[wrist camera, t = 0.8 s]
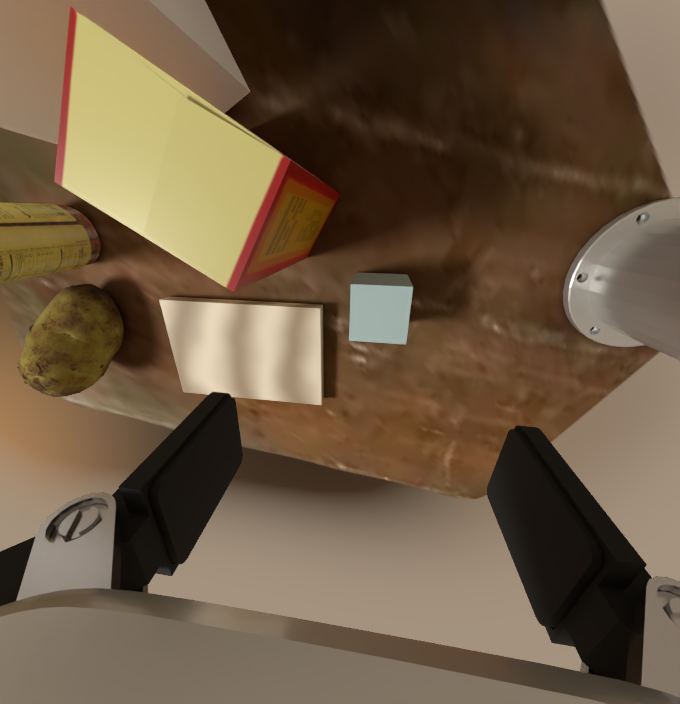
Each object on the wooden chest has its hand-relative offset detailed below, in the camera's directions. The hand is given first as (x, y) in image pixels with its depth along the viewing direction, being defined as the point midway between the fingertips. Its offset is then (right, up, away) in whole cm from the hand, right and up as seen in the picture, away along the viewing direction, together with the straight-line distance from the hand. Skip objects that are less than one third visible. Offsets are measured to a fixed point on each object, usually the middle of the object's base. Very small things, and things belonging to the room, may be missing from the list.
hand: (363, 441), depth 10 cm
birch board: (-12, +3, +24) cm, 27 cm away
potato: (-30, +6, +26) cm, 40 cm away
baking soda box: (-6, +18, +17) cm, 25 cm away
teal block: (+3, +9, +19) cm, 22 cm away
